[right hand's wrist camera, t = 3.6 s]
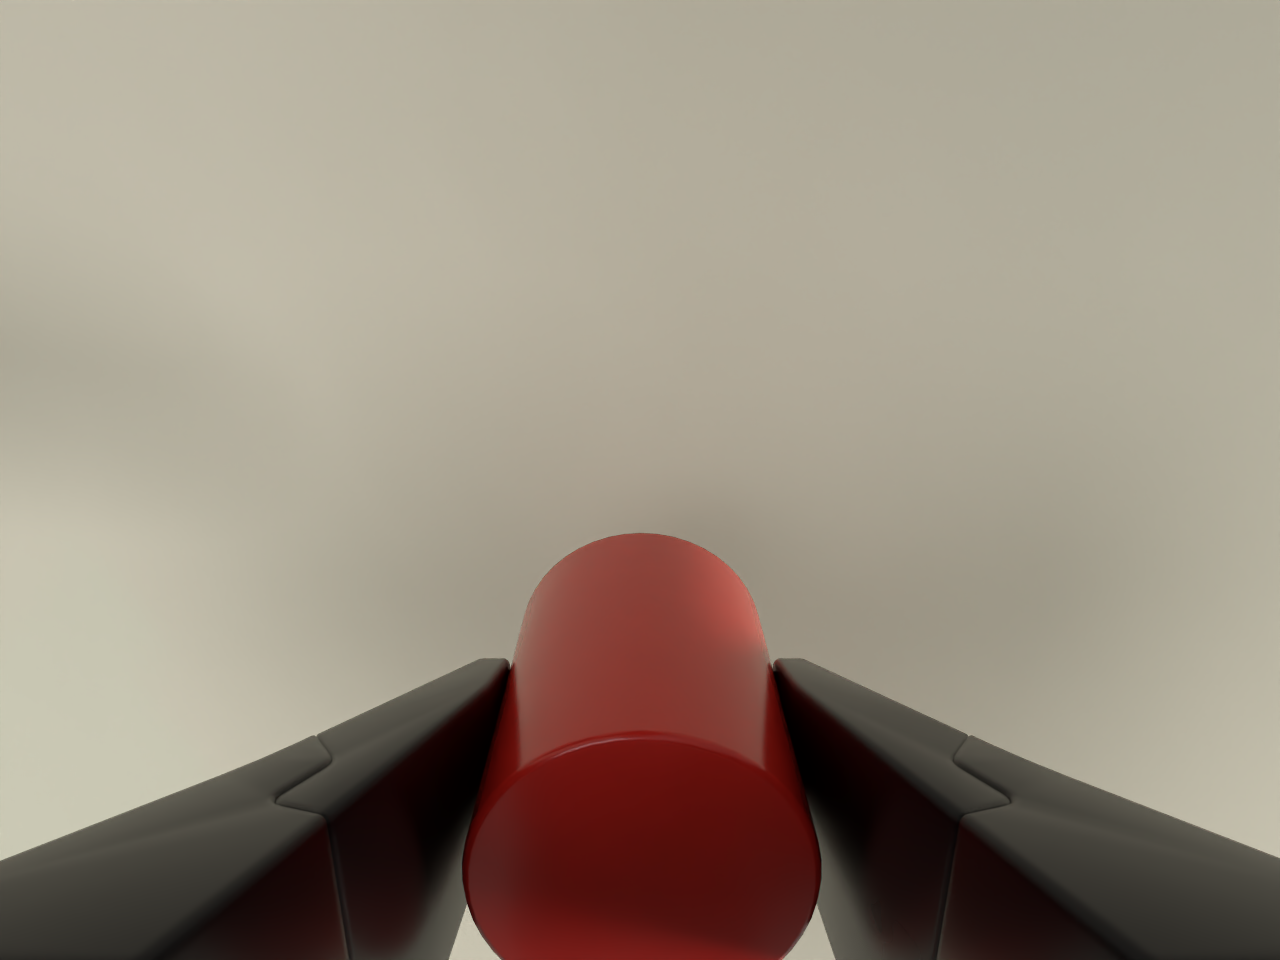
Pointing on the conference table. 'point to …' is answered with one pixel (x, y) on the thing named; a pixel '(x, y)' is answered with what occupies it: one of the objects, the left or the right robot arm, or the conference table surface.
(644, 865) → the red cylinder
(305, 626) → the conference table surface
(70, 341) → the conference table surface
